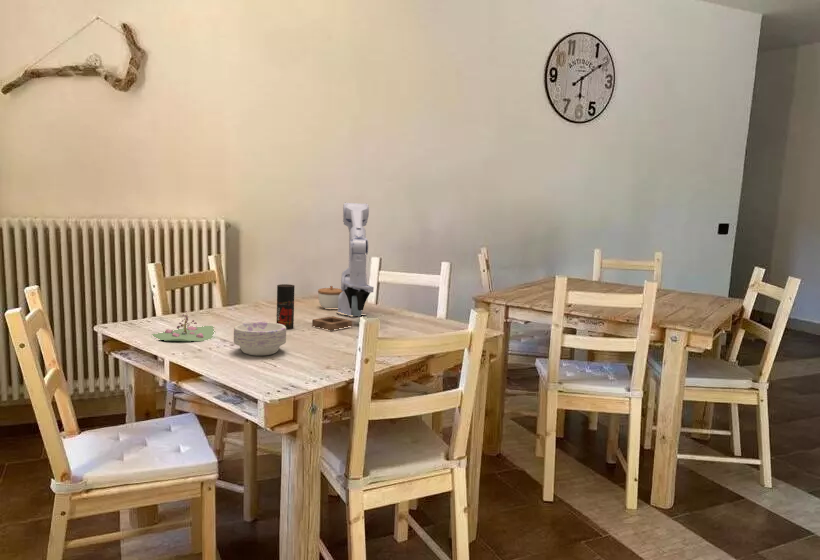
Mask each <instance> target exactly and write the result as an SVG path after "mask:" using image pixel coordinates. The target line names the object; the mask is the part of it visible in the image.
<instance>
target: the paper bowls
mask: <svg viewBox="0 0 820 560" xmlns="http://www.w3.org/2000/svg"><path fill="white" fill-rule="evenodd" d="M286 343H287V330H286V326H284V325H282V324H278V323H277V322H270V321H269V322H268V321H267V322H266V321H256V322H244V323H239V324H236V325H234V327H233V344H234V345H236V346H239V347H240V350H241V352H243V353H244V354H246V355H249V356H257V357H259V356H263V357H264V356H270V355H273V354H275V353H277V352H278V351H279V349H280V347H281V346H284V345H285V344H286Z"/></svg>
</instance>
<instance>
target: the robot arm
mask: <svg viewBox="0 0 820 560" xmlns="http://www.w3.org/2000/svg"><path fill="white" fill-rule="evenodd" d="M369 213H370V207H369V204H368V203H366V202H365V203H356V202H347V201H346V202H344V203H343V207H342V218H343V220H342V222H343V225H344V226H346V227H347V228H348V233H349V235H348V238H349V239H348V267H347V268H345V269H344V270H342V273H341V280H340V281H341V282H340V289H341V290H342V291H343V292H341V293H340V295H339V297H338V309H337V312H341V313H344V314H347V315H351V308H352V296H353V295H356V296H357V302H358V310H359V311H360V310H361V314H362V313H363V310H364V309H365V306H366V305H365V304H366V301H367V300H368V297H369V295H370V294H371V293H374V289H375V287H374V286H371V285H368V282H367V281H368V280H367V279H368V277H367V256H368V253H369V241H368V237H367V236H366V235H367V232H366V228H365V226H367V224H368V219H369Z"/></svg>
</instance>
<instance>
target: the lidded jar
mask: <svg viewBox="0 0 820 560" xmlns="http://www.w3.org/2000/svg"><path fill="white" fill-rule="evenodd" d="M329 286H330V287H324V288H319V289H318V290H317V292H318V295H317V296H318V303H319V304H320V306H321V307H322V308H338V297H339V295H340V293H341V292H343V291H342V290H341V288H338V287H335V288H334V287H333V285H329Z"/></svg>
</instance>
